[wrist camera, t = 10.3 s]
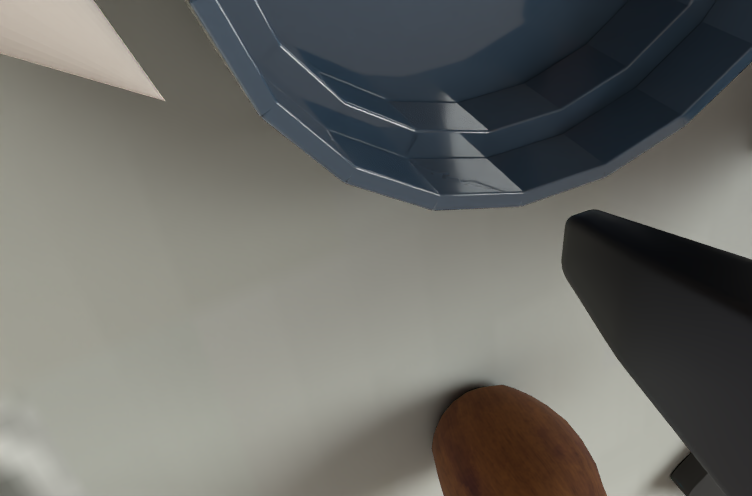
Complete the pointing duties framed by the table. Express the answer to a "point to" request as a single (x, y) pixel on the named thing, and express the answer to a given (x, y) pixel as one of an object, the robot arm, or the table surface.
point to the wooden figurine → (510, 448)
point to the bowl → (477, 86)
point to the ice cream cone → (71, 42)
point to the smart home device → (695, 479)
